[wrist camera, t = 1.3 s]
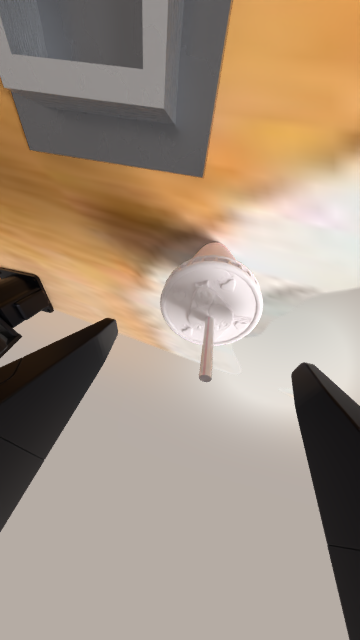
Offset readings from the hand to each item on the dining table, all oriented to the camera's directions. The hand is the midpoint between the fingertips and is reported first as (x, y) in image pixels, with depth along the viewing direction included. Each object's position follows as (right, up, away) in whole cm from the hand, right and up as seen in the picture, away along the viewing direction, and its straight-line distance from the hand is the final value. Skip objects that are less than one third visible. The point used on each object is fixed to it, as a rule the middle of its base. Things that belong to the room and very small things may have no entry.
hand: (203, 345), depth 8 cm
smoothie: (+3, +8, +10) cm, 13 cm away
